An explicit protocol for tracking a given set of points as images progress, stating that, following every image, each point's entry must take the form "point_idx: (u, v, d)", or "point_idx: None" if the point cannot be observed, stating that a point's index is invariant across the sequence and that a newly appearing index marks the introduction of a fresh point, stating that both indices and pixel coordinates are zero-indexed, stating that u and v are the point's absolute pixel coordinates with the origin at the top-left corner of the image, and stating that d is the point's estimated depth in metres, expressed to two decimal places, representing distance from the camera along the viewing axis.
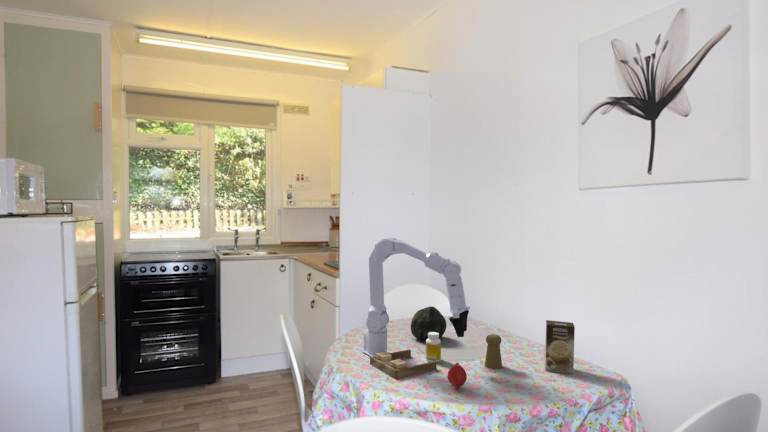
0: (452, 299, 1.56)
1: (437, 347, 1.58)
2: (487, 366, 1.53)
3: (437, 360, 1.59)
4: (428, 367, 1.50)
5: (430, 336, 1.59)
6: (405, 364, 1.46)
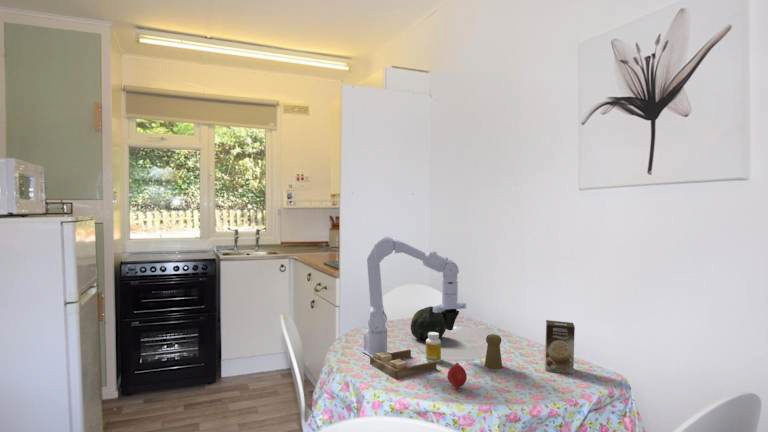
0: (442, 295, 1.64)
1: (437, 347, 1.58)
2: (487, 366, 1.53)
3: (437, 360, 1.59)
4: (428, 367, 1.50)
5: (430, 336, 1.59)
6: (405, 364, 1.46)
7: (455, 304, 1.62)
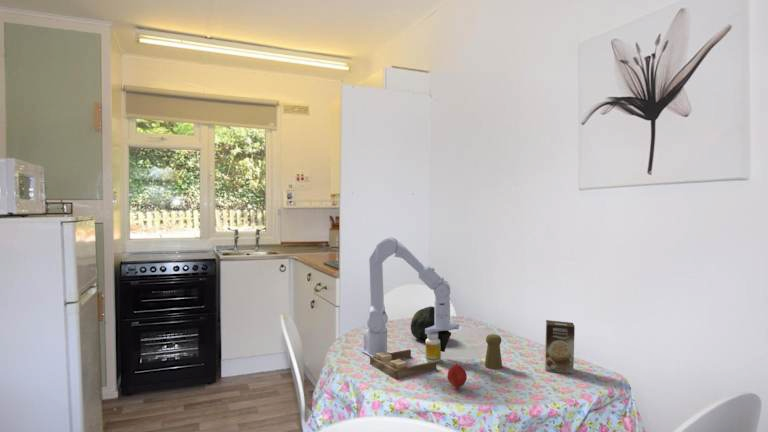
0: (434, 316, 1.62)
1: (437, 346, 1.58)
2: (487, 366, 1.53)
3: (437, 360, 1.58)
4: (428, 367, 1.50)
5: (429, 336, 1.59)
6: (405, 364, 1.46)
7: (448, 325, 1.61)
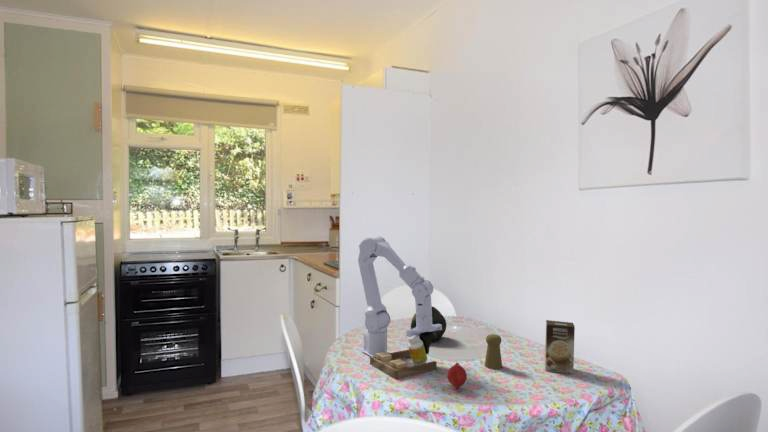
0: (416, 317, 1.57)
1: (419, 350, 1.53)
2: (487, 366, 1.53)
3: (423, 362, 1.54)
4: (428, 367, 1.50)
5: (410, 341, 1.54)
6: (405, 364, 1.46)
7: (430, 326, 1.55)
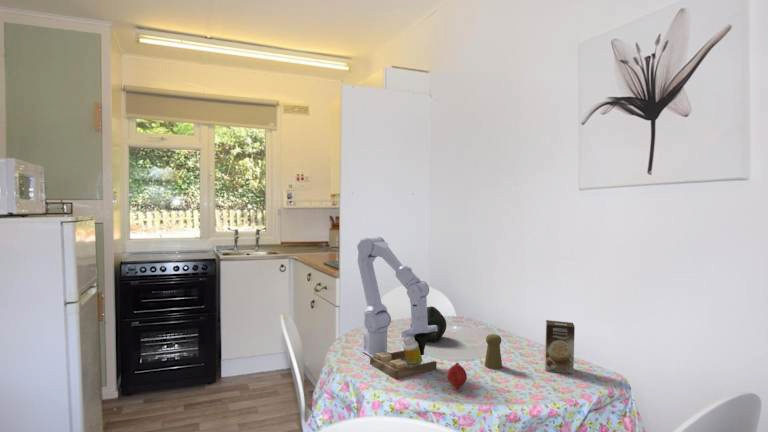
0: (411, 318, 1.56)
1: (414, 351, 1.52)
2: (487, 366, 1.53)
3: (418, 363, 1.53)
4: (428, 367, 1.50)
5: (405, 342, 1.53)
6: (405, 364, 1.46)
7: (425, 328, 1.54)
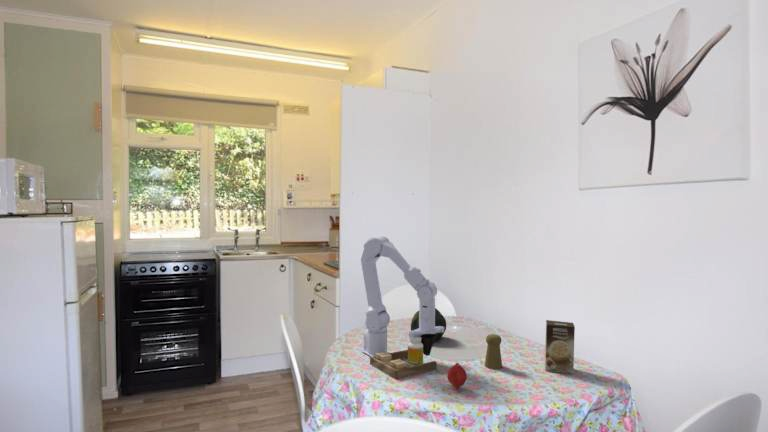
0: (419, 319, 1.59)
1: (419, 351, 1.53)
2: (487, 366, 1.53)
3: None
4: (428, 367, 1.50)
5: (412, 340, 1.54)
6: (405, 364, 1.46)
7: (432, 329, 1.57)
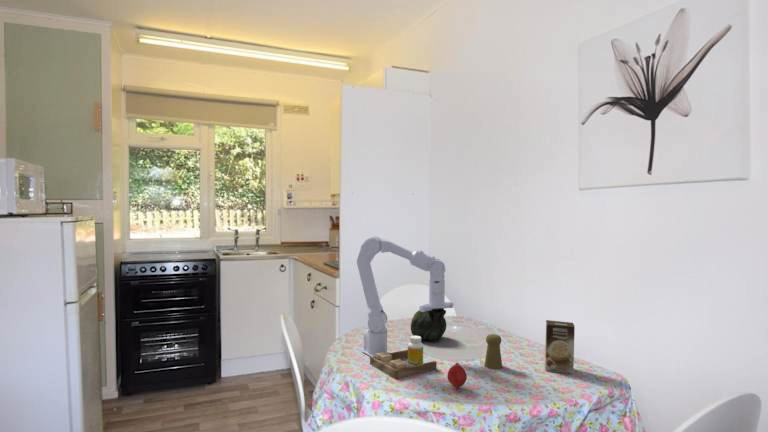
0: (429, 294, 1.63)
1: (419, 351, 1.53)
2: (487, 366, 1.53)
3: None
4: (428, 367, 1.50)
5: (412, 340, 1.54)
6: (405, 364, 1.46)
7: (442, 303, 1.62)
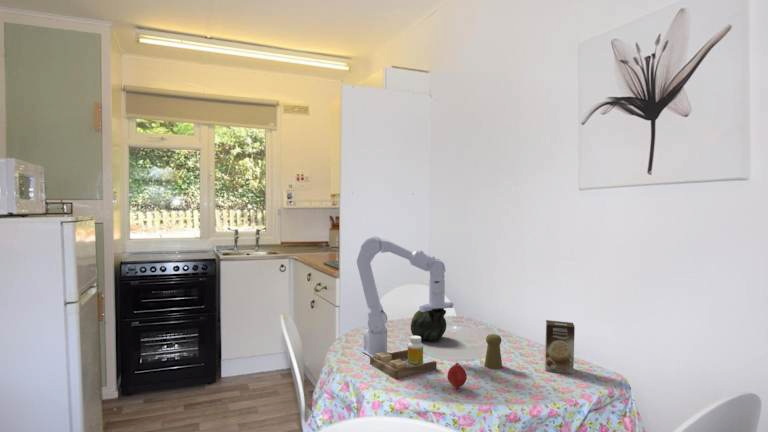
0: (429, 294, 1.63)
1: (419, 351, 1.53)
2: (487, 366, 1.53)
3: None
4: (428, 367, 1.50)
5: (412, 340, 1.54)
6: (405, 364, 1.46)
7: (442, 303, 1.62)
